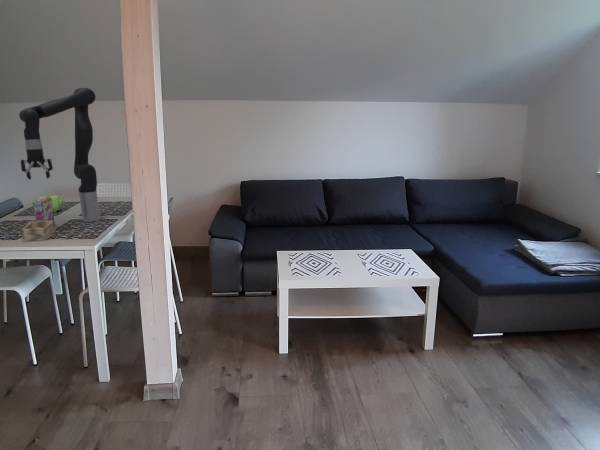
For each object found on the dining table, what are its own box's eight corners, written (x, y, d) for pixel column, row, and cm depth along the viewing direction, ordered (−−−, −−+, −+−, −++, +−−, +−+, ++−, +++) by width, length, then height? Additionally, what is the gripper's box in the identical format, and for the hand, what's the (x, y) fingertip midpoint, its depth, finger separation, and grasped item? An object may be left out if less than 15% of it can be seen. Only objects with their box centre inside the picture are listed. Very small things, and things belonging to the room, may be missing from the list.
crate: (54, 231, 238) (53, 220, 237) (47, 239, 223) (45, 228, 221) (31, 232, 235) (30, 222, 234) (22, 241, 220) (20, 230, 218)
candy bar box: (46, 231, 239) (41, 201, 235) (36, 231, 238) (32, 201, 234) (55, 226, 249) (51, 197, 245) (46, 226, 249) (42, 197, 245)
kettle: (68, 210, 289) (66, 193, 286) (51, 215, 276) (48, 197, 273) (50, 208, 294) (48, 192, 291) (32, 213, 280) (29, 196, 278)
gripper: (50, 147, 238) (55, 177, 242) (20, 148, 234) (25, 178, 238) (47, 148, 231) (52, 179, 235) (16, 149, 227) (21, 180, 231)
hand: (38, 178), depth 237 cm, fingers open, 8 cm apart
